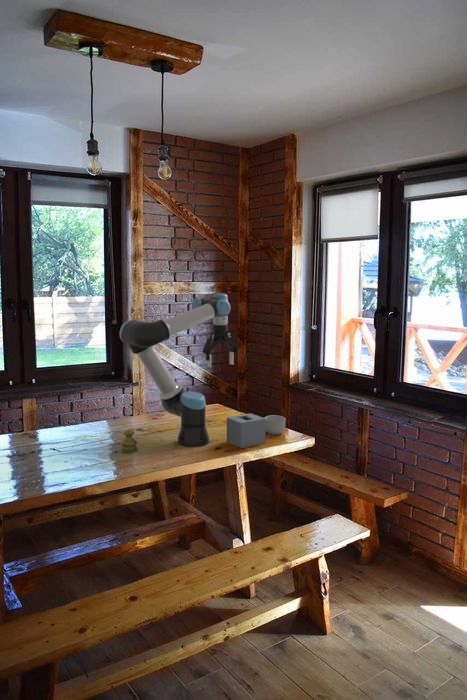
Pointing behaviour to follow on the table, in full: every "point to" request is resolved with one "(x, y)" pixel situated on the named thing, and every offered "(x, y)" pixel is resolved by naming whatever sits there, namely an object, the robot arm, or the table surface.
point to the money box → (245, 430)
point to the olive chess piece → (129, 442)
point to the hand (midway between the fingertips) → (220, 365)
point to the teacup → (274, 424)
